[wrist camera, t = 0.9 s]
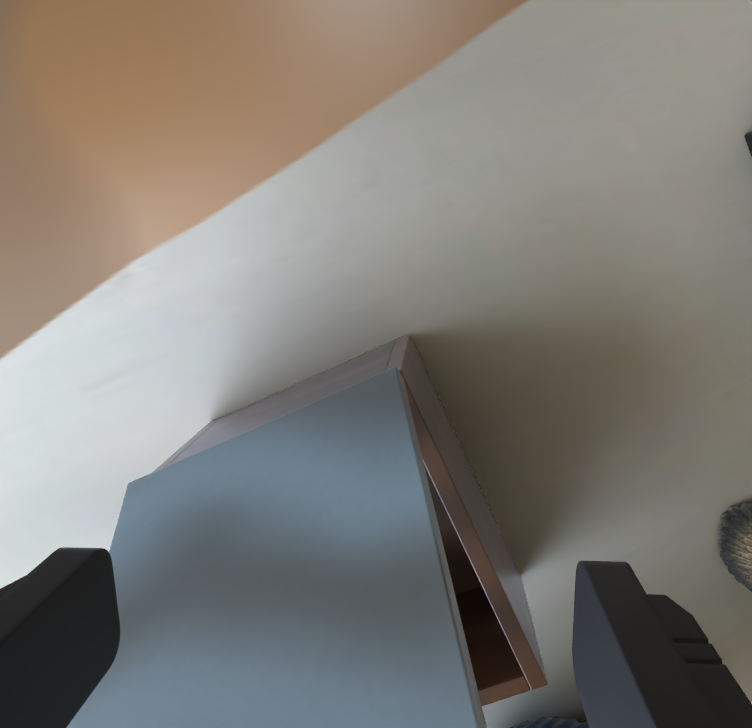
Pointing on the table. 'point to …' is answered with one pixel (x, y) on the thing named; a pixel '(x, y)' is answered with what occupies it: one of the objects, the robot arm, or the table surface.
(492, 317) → the table surface
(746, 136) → the black base block
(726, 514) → the brown plastic figure
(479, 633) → the cold frame
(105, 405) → the table surface
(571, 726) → the lamp
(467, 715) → the window lid
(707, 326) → the table surface
